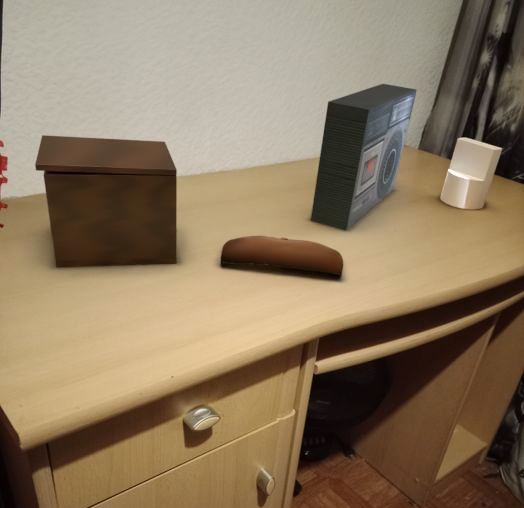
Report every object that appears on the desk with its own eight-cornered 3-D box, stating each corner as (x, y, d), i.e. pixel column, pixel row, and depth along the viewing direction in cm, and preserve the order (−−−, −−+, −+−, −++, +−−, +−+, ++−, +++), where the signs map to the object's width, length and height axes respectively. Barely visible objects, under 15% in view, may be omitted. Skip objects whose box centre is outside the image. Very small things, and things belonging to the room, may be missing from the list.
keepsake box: (56, 267, 75) (43, 174, 68) (59, 228, 86) (49, 144, 78) (176, 263, 79) (176, 176, 72) (165, 226, 90) (165, 147, 83)
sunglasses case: (338, 253, 86) (346, 227, 80) (337, 291, 83) (345, 267, 77) (226, 241, 86) (225, 214, 80) (220, 279, 83) (219, 254, 77)
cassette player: (346, 230, 96) (369, 109, 84) (310, 220, 98) (328, 101, 87) (393, 189, 118) (416, 89, 106) (363, 182, 120) (382, 83, 109)
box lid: (35, 170, 67) (35, 164, 67) (42, 140, 78) (42, 135, 77) (176, 175, 72) (176, 169, 71) (164, 147, 83) (165, 141, 82)
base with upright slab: (431, 197, 115) (447, 139, 109) (456, 192, 120) (473, 136, 114) (467, 212, 110) (486, 151, 103) (491, 205, 115) (511, 147, 108)
